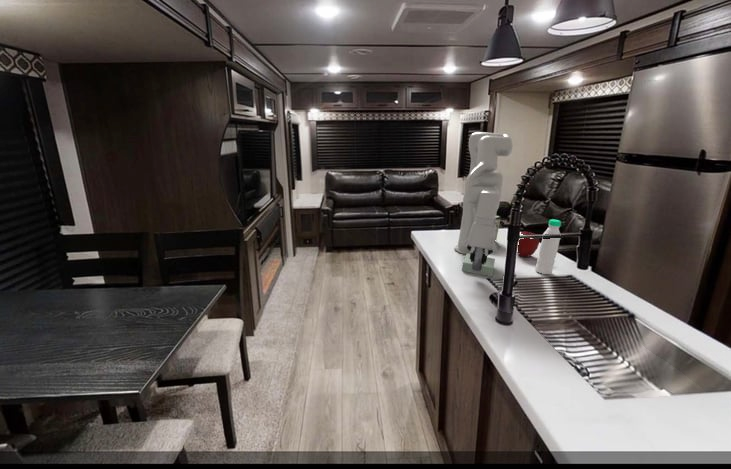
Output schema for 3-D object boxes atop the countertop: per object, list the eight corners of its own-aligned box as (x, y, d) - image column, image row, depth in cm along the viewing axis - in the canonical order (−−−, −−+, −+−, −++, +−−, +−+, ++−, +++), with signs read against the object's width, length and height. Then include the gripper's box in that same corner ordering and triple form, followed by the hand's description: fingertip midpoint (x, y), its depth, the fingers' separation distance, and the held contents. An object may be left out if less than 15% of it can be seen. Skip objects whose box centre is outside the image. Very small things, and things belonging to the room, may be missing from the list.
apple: (508, 250, 184) (513, 227, 180) (530, 252, 183) (536, 229, 179) (515, 258, 172) (521, 233, 168) (539, 260, 171) (545, 235, 167)
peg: (472, 266, 147) (476, 242, 143) (481, 268, 145) (486, 244, 142) (470, 269, 143) (475, 245, 140) (480, 271, 142) (485, 247, 138)
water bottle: (542, 268, 161) (554, 217, 154) (555, 274, 155) (568, 222, 148) (531, 269, 159) (543, 218, 151) (543, 276, 152) (556, 222, 145)
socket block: (465, 261, 164) (466, 253, 163) (493, 266, 160) (495, 258, 159) (461, 270, 153) (462, 262, 152) (491, 276, 148) (493, 268, 147)
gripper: (507, 222, 138) (498, 263, 144) (465, 215, 144) (458, 255, 150) (506, 226, 131) (497, 269, 137) (462, 219, 137) (456, 261, 143)
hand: (477, 261), depth 143 cm, fingers closed on peg, 4 cm apart
